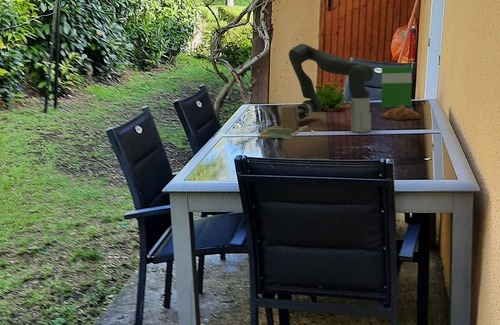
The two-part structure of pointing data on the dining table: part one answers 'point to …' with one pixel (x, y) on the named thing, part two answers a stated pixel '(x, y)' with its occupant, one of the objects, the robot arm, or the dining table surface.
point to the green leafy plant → (330, 96)
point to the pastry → (401, 114)
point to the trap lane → (280, 132)
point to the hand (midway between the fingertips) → (292, 116)
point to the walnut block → (290, 117)
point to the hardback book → (396, 86)
